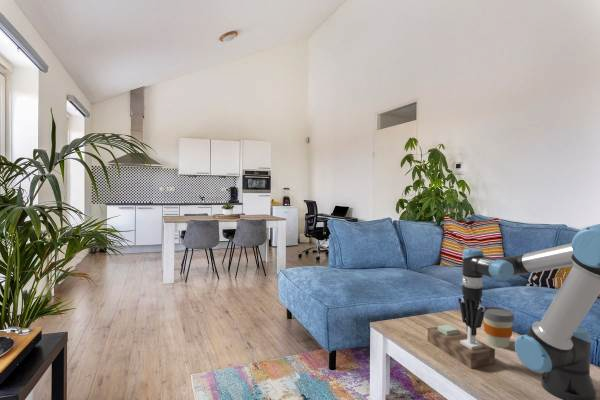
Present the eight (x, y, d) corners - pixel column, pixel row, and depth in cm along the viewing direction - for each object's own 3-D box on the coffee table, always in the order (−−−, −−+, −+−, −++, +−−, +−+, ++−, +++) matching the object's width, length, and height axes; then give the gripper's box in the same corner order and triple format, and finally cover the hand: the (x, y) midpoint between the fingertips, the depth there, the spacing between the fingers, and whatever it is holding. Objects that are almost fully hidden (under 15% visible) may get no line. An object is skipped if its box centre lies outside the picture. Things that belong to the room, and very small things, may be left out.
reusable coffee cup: (501, 352, 148) (501, 318, 147) (476, 340, 159) (476, 308, 159) (519, 346, 153) (520, 313, 152) (494, 335, 164) (494, 305, 164)
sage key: (457, 340, 153) (457, 329, 153) (446, 342, 151) (446, 331, 151) (448, 334, 159) (448, 324, 158) (437, 336, 157) (437, 325, 157)
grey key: (482, 356, 139) (483, 344, 139) (471, 358, 138) (471, 346, 138) (471, 350, 145) (471, 338, 145) (460, 352, 143) (460, 340, 143)
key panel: (494, 363, 138) (494, 349, 137) (471, 368, 134) (471, 353, 134) (448, 337, 162) (448, 325, 162) (427, 340, 159) (427, 328, 159)
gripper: (453, 282, 146) (452, 336, 146) (477, 291, 133) (476, 350, 134) (467, 281, 148) (466, 334, 149) (492, 289, 136) (491, 347, 136)
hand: (471, 341), depth 141 cm, fingers closed
